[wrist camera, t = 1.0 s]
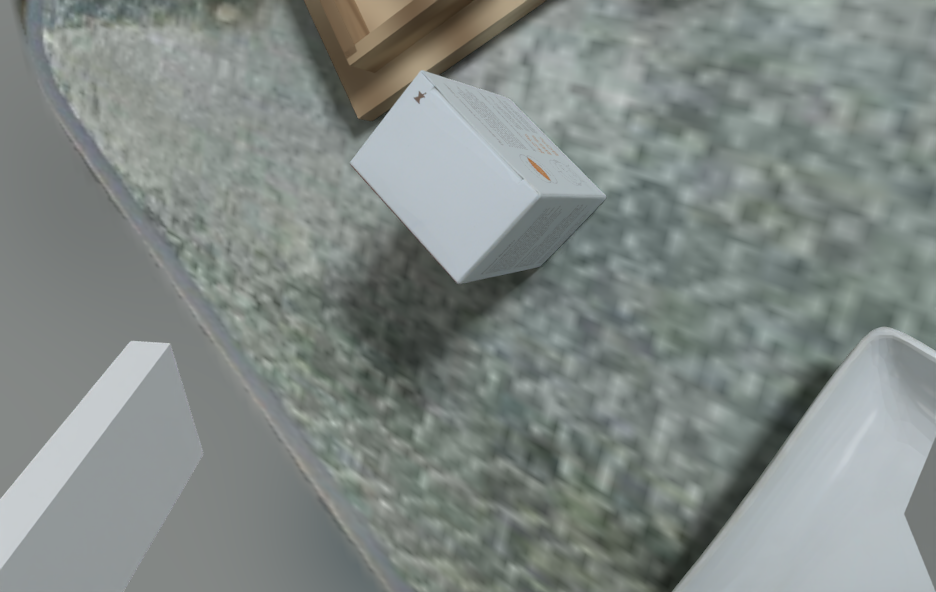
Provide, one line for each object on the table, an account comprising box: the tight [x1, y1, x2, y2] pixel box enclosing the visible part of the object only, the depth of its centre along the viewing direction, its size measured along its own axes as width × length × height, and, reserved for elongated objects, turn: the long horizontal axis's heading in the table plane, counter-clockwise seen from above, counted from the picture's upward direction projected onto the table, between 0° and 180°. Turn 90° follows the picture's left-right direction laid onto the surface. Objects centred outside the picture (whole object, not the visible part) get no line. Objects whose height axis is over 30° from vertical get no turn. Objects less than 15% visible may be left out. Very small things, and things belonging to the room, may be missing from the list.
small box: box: [350, 70, 606, 284], centre depth 39 cm, size 8×6×10 cm
